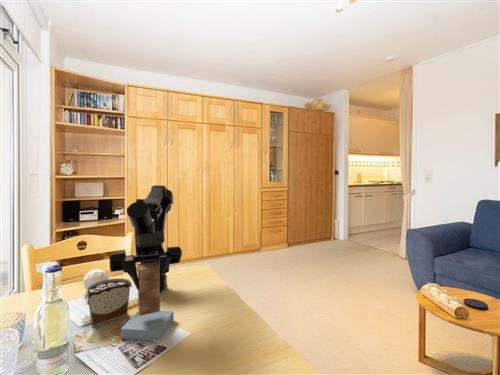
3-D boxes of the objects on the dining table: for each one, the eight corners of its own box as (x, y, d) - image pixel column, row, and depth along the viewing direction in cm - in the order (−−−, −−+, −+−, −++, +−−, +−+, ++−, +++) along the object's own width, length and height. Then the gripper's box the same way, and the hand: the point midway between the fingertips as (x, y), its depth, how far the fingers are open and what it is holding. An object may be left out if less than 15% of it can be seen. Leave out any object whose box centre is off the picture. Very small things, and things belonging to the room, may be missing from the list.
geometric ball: (92, 301, 97) (76, 288, 92) (93, 285, 103) (79, 272, 99) (112, 289, 98) (98, 275, 94) (112, 274, 105) (99, 260, 100)
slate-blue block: (121, 340, 71) (121, 328, 71) (140, 319, 81) (140, 309, 81) (159, 342, 70) (159, 331, 70) (173, 321, 80) (173, 311, 80)
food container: (124, 305, 88) (124, 274, 88) (132, 312, 84) (132, 280, 83) (80, 319, 80) (79, 285, 79) (86, 328, 75) (85, 292, 75)
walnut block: (139, 315, 72) (139, 270, 71) (138, 306, 77) (137, 264, 76) (159, 311, 74) (159, 267, 73) (157, 303, 79) (157, 261, 78)
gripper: (109, 223, 73) (108, 279, 64) (180, 219, 81) (189, 268, 72) (110, 245, 81) (110, 298, 72) (175, 239, 89) (183, 286, 80)
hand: (149, 287), depth 74 cm, fingers closed on walnut block, 5 cm apart
